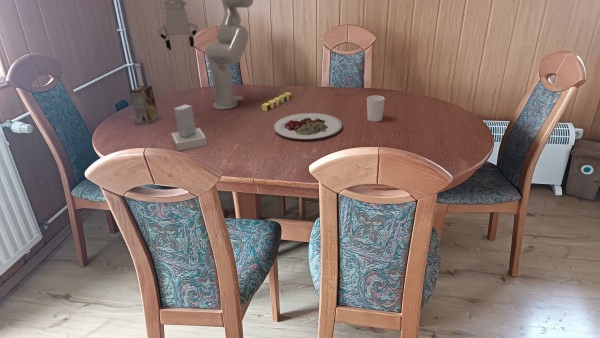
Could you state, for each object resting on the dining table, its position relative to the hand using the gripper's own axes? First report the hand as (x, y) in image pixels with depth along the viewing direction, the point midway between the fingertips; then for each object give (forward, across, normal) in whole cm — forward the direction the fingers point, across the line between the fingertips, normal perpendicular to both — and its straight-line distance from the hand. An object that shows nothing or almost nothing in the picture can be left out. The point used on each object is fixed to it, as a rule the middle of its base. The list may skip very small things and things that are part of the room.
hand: (181, 47), depth 177 cm
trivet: (+35, +8, +24) cm, 43 cm away
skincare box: (+31, +8, +24) cm, 40 cm away
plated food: (+35, -42, +37) cm, 66 cm away
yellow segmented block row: (+35, -46, 0) cm, 58 cm away
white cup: (+34, -73, +44) cm, 92 cm away
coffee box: (+34, +19, -14) cm, 42 cm away
